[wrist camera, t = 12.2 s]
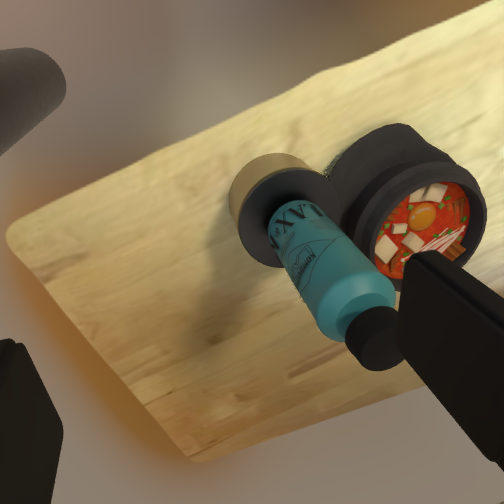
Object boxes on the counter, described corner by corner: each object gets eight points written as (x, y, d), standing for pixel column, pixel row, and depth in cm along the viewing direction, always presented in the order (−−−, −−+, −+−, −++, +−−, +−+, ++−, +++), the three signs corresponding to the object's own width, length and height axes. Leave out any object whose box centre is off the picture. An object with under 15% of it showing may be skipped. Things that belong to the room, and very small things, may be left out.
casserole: (476, 233, 58) (522, 261, 51) (370, 306, 60) (401, 343, 53) (418, 85, 46) (469, 94, 38) (287, 184, 48) (312, 210, 40)
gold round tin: (233, 248, 50) (245, 277, 44) (220, 160, 44) (232, 180, 38) (318, 230, 52) (341, 256, 46) (316, 143, 46) (342, 160, 40)
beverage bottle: (324, 192, 41) (450, 303, 24) (314, 248, 44) (420, 382, 27) (263, 192, 40) (353, 312, 23) (258, 251, 43) (333, 395, 26)
